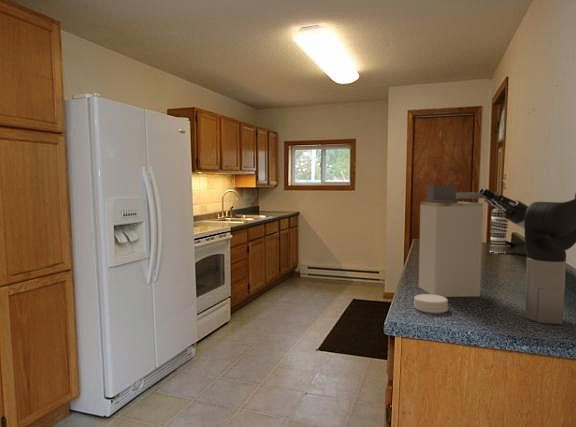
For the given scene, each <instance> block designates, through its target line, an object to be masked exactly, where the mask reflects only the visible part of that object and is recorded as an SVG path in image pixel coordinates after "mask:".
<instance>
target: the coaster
mask: <svg viewBox="0 0 576 427" xmlns="http://www.w3.org/2000/svg"><path fill="white" fill-rule="evenodd" d="M413 300H414V301H413V303H414V304H413V308H414V309H416V310H417V311H420V312H424V313H430V314H442V313H446V312H448V310H449V300H448V298H447V297H443V296H439V295H433V294H429V293H422V294H421V293H420V294H419V293H418V294H416V295H415V296H414V298H413Z"/></svg>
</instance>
